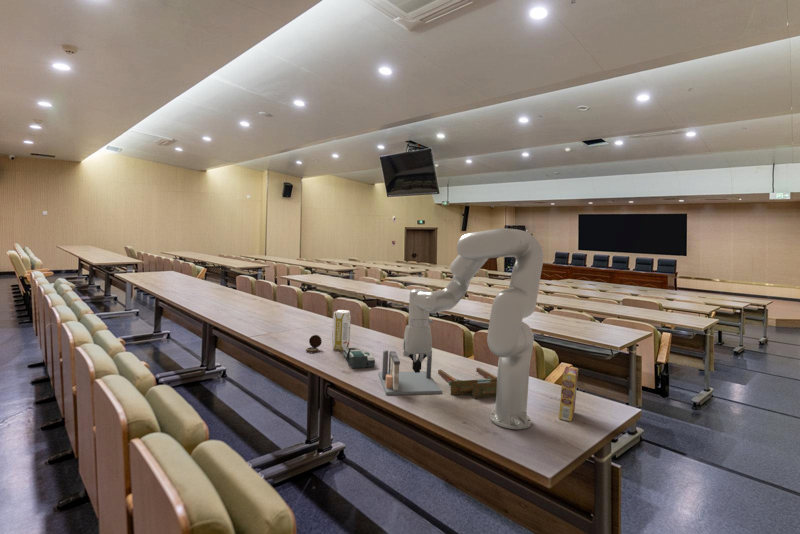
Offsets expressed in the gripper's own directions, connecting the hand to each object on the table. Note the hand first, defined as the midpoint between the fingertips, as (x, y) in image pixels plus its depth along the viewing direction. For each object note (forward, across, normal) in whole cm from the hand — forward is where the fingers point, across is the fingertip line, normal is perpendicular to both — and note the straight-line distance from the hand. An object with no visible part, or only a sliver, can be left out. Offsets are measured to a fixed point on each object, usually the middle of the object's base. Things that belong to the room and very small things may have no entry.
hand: (416, 371), depth 150 cm
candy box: (+7, -44, +28) cm, 53 cm away
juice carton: (+7, +23, -59) cm, 64 cm away
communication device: (+7, +18, -39) cm, 43 cm away
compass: (+7, +36, -55) cm, 66 cm away
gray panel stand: (+7, +1, -7) cm, 10 cm away
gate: (+5, +8, -4) cm, 10 cm away
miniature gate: (+8, -24, -3) cm, 26 cm away
